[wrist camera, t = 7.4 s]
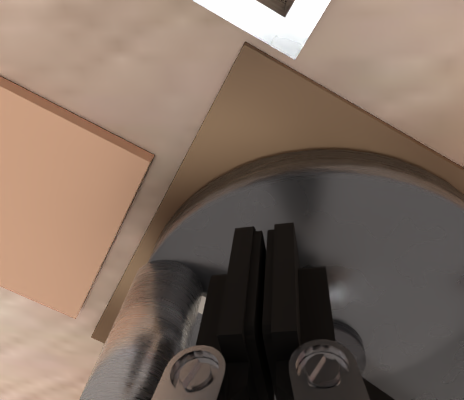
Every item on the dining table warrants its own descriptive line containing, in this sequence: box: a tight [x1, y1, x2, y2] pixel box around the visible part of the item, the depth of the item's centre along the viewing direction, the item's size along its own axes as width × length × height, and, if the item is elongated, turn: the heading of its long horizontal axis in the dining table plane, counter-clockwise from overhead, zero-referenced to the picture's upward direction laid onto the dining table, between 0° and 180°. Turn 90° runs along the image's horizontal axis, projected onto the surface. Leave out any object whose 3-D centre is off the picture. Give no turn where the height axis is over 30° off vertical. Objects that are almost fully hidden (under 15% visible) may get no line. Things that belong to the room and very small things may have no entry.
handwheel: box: [80, 150, 464, 400], centre depth 14 cm, size 14×14×8 cm
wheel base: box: [91, 42, 464, 343], centre depth 18 cm, size 15×15×1 cm
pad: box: [0, 76, 154, 319], centre depth 17 cm, size 9×9×1 cm
